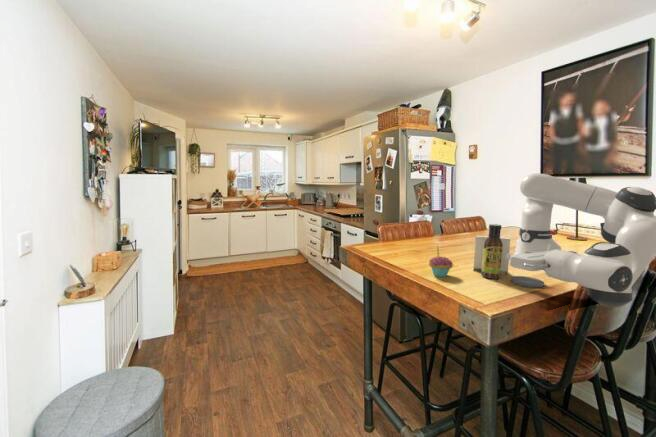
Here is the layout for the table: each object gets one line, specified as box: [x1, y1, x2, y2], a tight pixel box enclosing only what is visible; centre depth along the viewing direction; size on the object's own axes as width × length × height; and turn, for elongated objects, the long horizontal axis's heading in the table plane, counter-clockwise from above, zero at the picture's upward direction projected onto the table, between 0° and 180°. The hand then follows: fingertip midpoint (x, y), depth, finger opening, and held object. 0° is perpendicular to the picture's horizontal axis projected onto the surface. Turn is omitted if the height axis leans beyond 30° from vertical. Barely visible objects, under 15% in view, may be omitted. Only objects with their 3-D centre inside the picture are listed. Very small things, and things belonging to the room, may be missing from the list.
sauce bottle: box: [481, 223, 503, 280], centre depth 119 cm, size 6×6×20 cm
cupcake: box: [428, 244, 454, 278], centre depth 122 cm, size 9×8×12 cm
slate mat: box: [510, 275, 545, 289], centre depth 113 cm, size 10×10×1 cm
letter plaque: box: [473, 235, 511, 275], centre depth 127 cm, size 12×4×14 cm, turn 64°
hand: (517, 254), depth 110 cm, fingers open, 8 cm apart
